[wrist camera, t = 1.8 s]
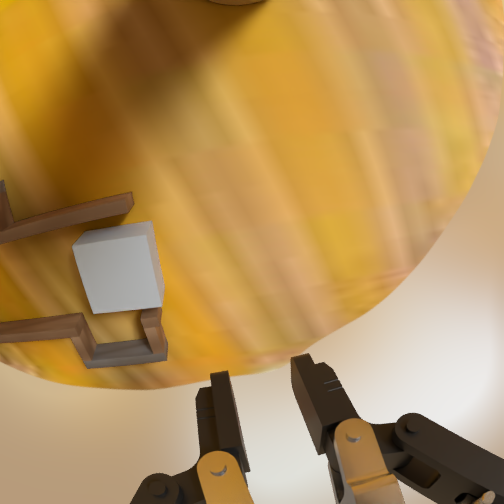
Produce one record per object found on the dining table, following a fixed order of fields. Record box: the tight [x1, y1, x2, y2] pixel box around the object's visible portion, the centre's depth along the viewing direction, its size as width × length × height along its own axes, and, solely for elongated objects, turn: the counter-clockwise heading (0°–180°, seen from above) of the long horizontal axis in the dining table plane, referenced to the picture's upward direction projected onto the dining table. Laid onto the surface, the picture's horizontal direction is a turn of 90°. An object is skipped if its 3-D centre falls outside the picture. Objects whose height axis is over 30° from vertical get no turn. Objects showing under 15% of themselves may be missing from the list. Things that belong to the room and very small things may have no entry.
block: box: [72, 221, 165, 314], centre depth 23 cm, size 6×6×4 cm
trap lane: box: [0, 180, 168, 369], centre depth 22 cm, size 19×22×2 cm
